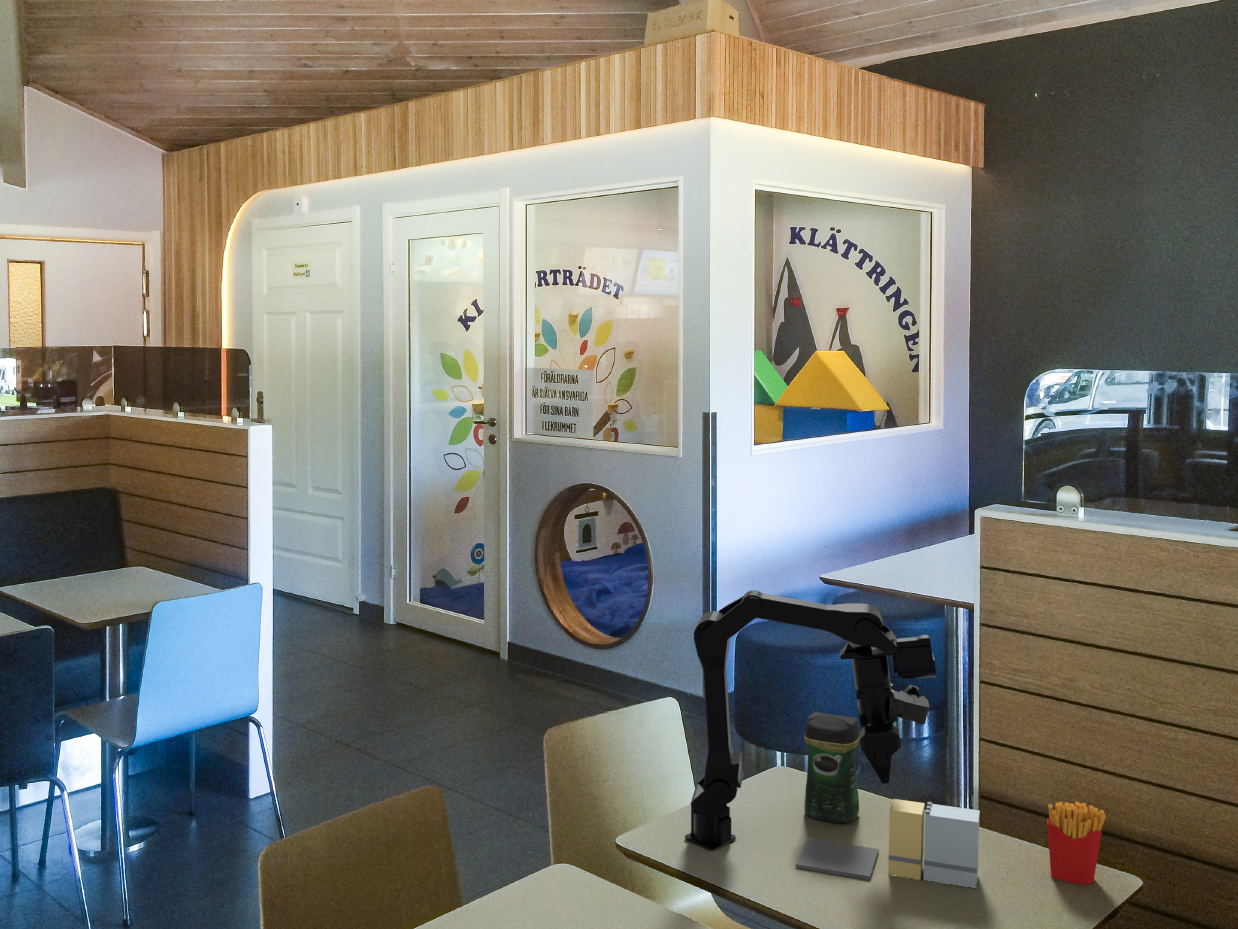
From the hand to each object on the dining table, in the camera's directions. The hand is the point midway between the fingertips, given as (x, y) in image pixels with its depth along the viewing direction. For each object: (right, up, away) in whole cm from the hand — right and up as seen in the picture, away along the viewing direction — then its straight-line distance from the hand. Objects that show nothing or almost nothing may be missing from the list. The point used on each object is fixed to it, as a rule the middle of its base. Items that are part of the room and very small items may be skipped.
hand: (884, 772), depth 184 cm
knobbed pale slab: (+9, -15, -7) cm, 19 cm away
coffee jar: (-6, -13, +17) cm, 22 cm away
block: (+2, -15, -4) cm, 16 cm away
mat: (-8, -14, 0) cm, 16 cm away
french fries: (+29, -15, -7) cm, 33 cm away
